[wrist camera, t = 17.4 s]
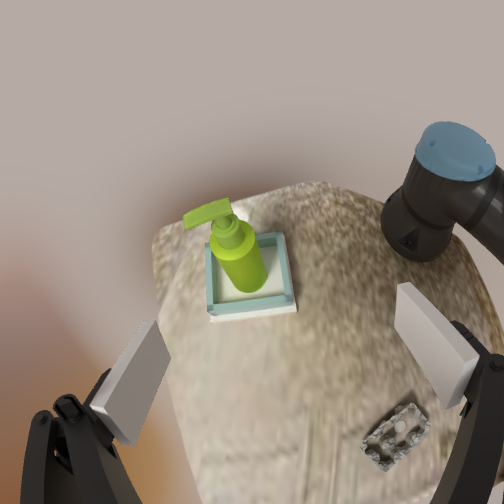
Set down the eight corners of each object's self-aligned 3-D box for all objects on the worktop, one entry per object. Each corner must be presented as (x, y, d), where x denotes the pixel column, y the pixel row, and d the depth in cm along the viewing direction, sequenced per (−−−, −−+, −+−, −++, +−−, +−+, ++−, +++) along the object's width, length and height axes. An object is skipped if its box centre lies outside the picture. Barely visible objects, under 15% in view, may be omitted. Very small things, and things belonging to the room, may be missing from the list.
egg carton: (404, 396, 34) (414, 397, 30) (426, 425, 31) (437, 428, 27) (353, 441, 33) (359, 446, 29) (377, 468, 29) (384, 476, 26)
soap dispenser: (222, 269, 47) (178, 200, 30) (260, 255, 47) (236, 178, 30) (231, 300, 45) (186, 243, 27) (271, 286, 45) (252, 219, 27)
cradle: (284, 237, 50) (283, 225, 46) (296, 312, 43) (296, 306, 40) (209, 249, 51) (202, 238, 47) (212, 323, 45) (204, 318, 41)
